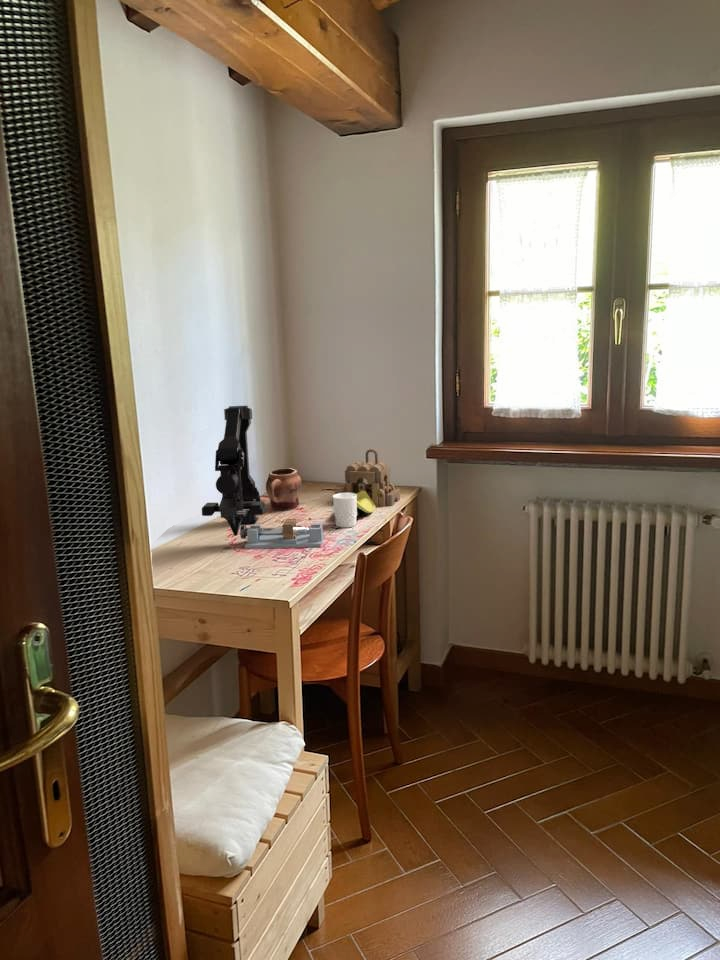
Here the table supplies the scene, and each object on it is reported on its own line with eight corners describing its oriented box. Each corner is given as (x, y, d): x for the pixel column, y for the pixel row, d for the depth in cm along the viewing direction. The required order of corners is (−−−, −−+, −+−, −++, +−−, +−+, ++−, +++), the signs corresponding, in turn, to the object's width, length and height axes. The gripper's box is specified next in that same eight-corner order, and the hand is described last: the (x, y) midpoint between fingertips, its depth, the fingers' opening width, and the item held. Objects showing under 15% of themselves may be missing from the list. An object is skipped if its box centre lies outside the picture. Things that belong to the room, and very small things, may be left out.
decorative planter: (292, 516, 254) (289, 477, 251) (258, 515, 257) (256, 477, 253) (308, 501, 273) (306, 465, 270) (277, 501, 276) (274, 465, 272)
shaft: (243, 536, 228) (242, 524, 227) (311, 535, 226) (310, 522, 225) (240, 540, 224) (239, 527, 223) (309, 539, 222) (308, 526, 222)
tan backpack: (332, 504, 268) (330, 454, 263) (347, 495, 281) (345, 447, 277) (389, 508, 260) (388, 456, 255) (402, 498, 273) (401, 449, 269)
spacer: (287, 536, 228) (286, 518, 227) (296, 535, 228) (295, 518, 227) (283, 542, 222) (282, 524, 221) (293, 542, 222) (292, 524, 220)
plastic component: (342, 500, 264) (367, 488, 262) (352, 518, 264) (376, 506, 262) (331, 510, 245) (357, 498, 242) (341, 530, 245) (367, 517, 243)
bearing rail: (252, 538, 231) (250, 523, 230) (324, 536, 229) (323, 521, 228) (245, 548, 221) (243, 532, 220) (320, 546, 220) (319, 530, 219)
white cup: (335, 529, 237) (333, 499, 235) (333, 522, 245) (331, 493, 243) (359, 527, 238) (358, 497, 236) (356, 520, 246) (355, 491, 243)
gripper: (194, 493, 215) (199, 544, 219) (256, 492, 214) (260, 543, 217) (204, 484, 226) (209, 533, 230) (264, 483, 225) (267, 531, 228)
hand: (236, 535), depth 226 cm, fingers closed
